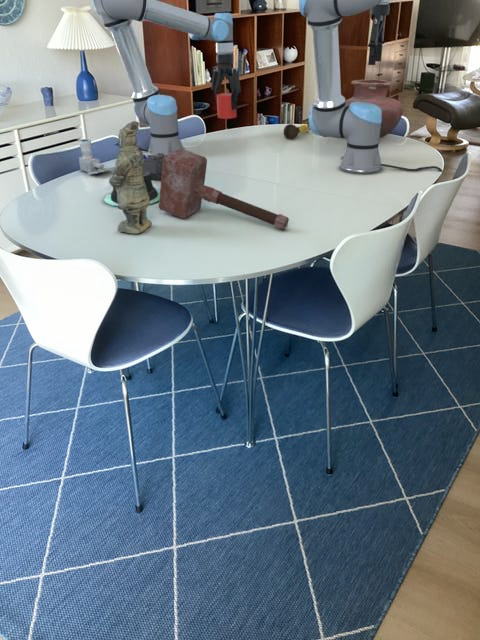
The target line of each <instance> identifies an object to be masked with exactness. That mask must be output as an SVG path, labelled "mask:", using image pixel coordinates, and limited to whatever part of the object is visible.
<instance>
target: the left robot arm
mask: <svg viewBox="0 0 480 640" xmlns="http://www.w3.org/2000/svg"><path fill="white" fill-rule="evenodd" d="M92 3H93V7H94V9H95V12H96V13H97V14H98V15H99V16H100V18H101V21H102V23H103V25H104V28H105V29H107V30H108V31H109V32H110V33H111V35H112V38H113V41H114V43H115V47H116V49H117V52H118V54H119V57H120V59H121V63H122V64H123V67H124V70H125V72H126V75H127V78H128V81H129V83H130V86H131V88H132V91H133V93H132V96H131V98H132V102H133V111H134V113H135V116H136V117H137V119H138V120H139V121H141V122H142V123H144V124H146V125H149V131H150V141H149V145H148V148H143V147H141V146H140V147H139V146H137V147H138V149H139V150H141V151H142V152H143V151H144V152H147V156H148V155H155V156H156V155H157V154H158V153H163V154H164V155H167V154H170V153H172V152H174V151H177V150H179V149H184V150H186V148H185V147H184V146H183V144H182V141H181V138H180V135H179V133H180V132H179V118H178V105H177V100H176V98H174V97H173V96H170V95H166V94H161V93H160V90H159V88H158V87H157V86H156V85H154V84H153V81H152V78H151V75H150V73H149V70H148V67H147V64H146V61H145V58H144V55H143V53H142V50H141V47H140V44H139V41H138V38H137V36H136V32H135V30H134V28H133V24H132V22H133V21H137V22H139V23H140V22H142V21H147V22H150V23H154V24H157V25H159V26H163V27H167V28H170V29H174V30H177V31H180V32H183V33H186V34H188V36H189V39H190V40H192V41H201V40H203V41H212V42H215V53H216V55H215V56H216V57H215V58H216V59H215V60H216V64H217V66H212V70H211V71H212V77H211V86H210V90H211V91H213V92H214V98H215V100H216V101H215V103H216V104H215V105H216V109H217V94H221V93H222V91H221V88H222V84H223V81H224V78H225V79H226V80H227V81H228V84H229V87H230V90H231V93H232V94H231V103H232V110H234V109H236V110H237V109H238V100H239V99H238V97H239V96H238V95H239V93H241V92H242V87H241V81H240V75H239V71H240V70H239V69H240V68H238V67H234V66H233V65H234V54H233V53H234V22H233V14H232V13H230V12H216V13H214V17H213V18H212V17H209V16H206V15H203V14H199V13H197V12H194V11H191V10H187V9H185V8H181V7H178V6H175V5H172V4H169V3H166V2H163V1H161V0H92Z"/></svg>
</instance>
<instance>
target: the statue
mask: <svg viewBox="0 0 480 640" xmlns="http://www.w3.org/2000/svg"><path fill="white" fill-rule="evenodd" d="M139 126H140V122H139V121H136V120H134V121H131V122H129V123H127V124H126V125H125V126H123V127H122V128H121V129H119V133H118V139H117V141H118V143H119V145H118V146H119V152H118V154H117V156H116V160H115V164H114V167H115V169H113V172H114V175H113V176H112V175H111V176H110V177H109V180H108V183H109V184H110V186H111V187H112V188H113V187H114V188H115V189H116V192H117V202H118V206H117V209H119V210H122V213H123V214H124V215H125V218H126V219H125V220H122V221H120V222H119V224H118V225H117V231H118V232H121V233H126V234H134V235H136V234H142V233H143V232H145V231H146V230H147V229H148V228H150V227H151V226H152V225H153V223H152V220H150V219H148V216H147V214H148V213H147V212H148V211H147V209H148V206H149V205H150V197H149V195H148V192H147V188H146V184H145V182H144V178H143V166H144V156H143V154H144V152H143V150H140V149H138V147H139V146H138V145H137V144H138V142H137V141H138V140H137V139H138V137H137V132H138V131H139V128H140V127H139ZM142 152H143V153H142Z"/></svg>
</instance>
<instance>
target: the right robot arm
mask: <svg viewBox="0 0 480 640" xmlns="http://www.w3.org/2000/svg"><path fill="white" fill-rule="evenodd" d="M391 2H392V1H391V0H298V10H299V13H300V14H301V16H303V17H304V18H306V20H307V26H308V27H309V28H311V30H312V41H313V55H314V69H315V83H316V94H317V95H316V99H314V101H313V104H312V105H311V106H310V108H309V112H308V113H309V115H308V123H309V125H310V128H311V130H310V131H311V132H312V133H313V134H314V135H316V136H320V137H322V138H334V139H342V140H343V139H345V140H346V149H345V151H344V154H343V156H341V157H340V161H341V162H340V170H341V171H343V172H345V173H349V174H355V175H356V174H357V175H369V174H370V175H371V174H376V173H378V172H380V171H382V167H385V168H391V169H396V170H402V171H408V172H416V171H420V170H421V171H422V170H429V169H436V170H437V171H439V172H443V170H442V168H441V167H439V166H435V165H430V166H420V167H417V168H409V167H408V168H407V167H402V166H397V165H391V164H386V163H382V161H381V155H380V150H379V147H380V145H379V144H380V138H379V137H380V128H381V122H382V119H381V116H382V111H381V109H380V107H378V106H377V105H374V104H370V103H365V102H353V103H351V104H350V106H346V104H345V100H346V97H345V96H344V95H342V88H341V85H342V84H341V66H340V42H339V41H340V39H339V25H340V23H341V22H342V21H343V17H349V16H351V17H352V16H355V15H358V14H361V13H363V12H366V11H368V10H369V15H370V16H371V17H372V16H374V18H372V24H371V30H370V37H369V41H368V44H367V48H369V51H368V52H369V53H368V66H376V62H378V63H379V62H382V54H383V45H385V39H384V38H385V19H386V18H385V16H388V15H390V7H391V5H390V3H391Z"/></svg>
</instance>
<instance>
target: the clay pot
mask: <svg viewBox="0 0 480 640" xmlns="http://www.w3.org/2000/svg"><path fill="white" fill-rule="evenodd" d="M350 84H351V85H353V86H354V88H353V89H354V92H353V95H352V97H350V98H348V99H345V104H346V106H350V104H351V103H353V102H365V103H370V104H374V105H377V106H378V107H380V109H381V111H382V116H381V119H382V122H381V128H380V137H379V139H381V138H383V137H386V136H388V135H389V134H390V133H392V132H393V131H394V130H395V128H396V127H397V126H398V124H399V123H400V121H401V119H402V116H403V114H404V106H403V104H402V102H401V101H400V100H398V99H395V98H393V97H387V94H388V90H389V87H390V86H392V82H391V81H388V80H384V79H373V78H372V79H356V80H355V79H354V80H351V83H350Z"/></svg>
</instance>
